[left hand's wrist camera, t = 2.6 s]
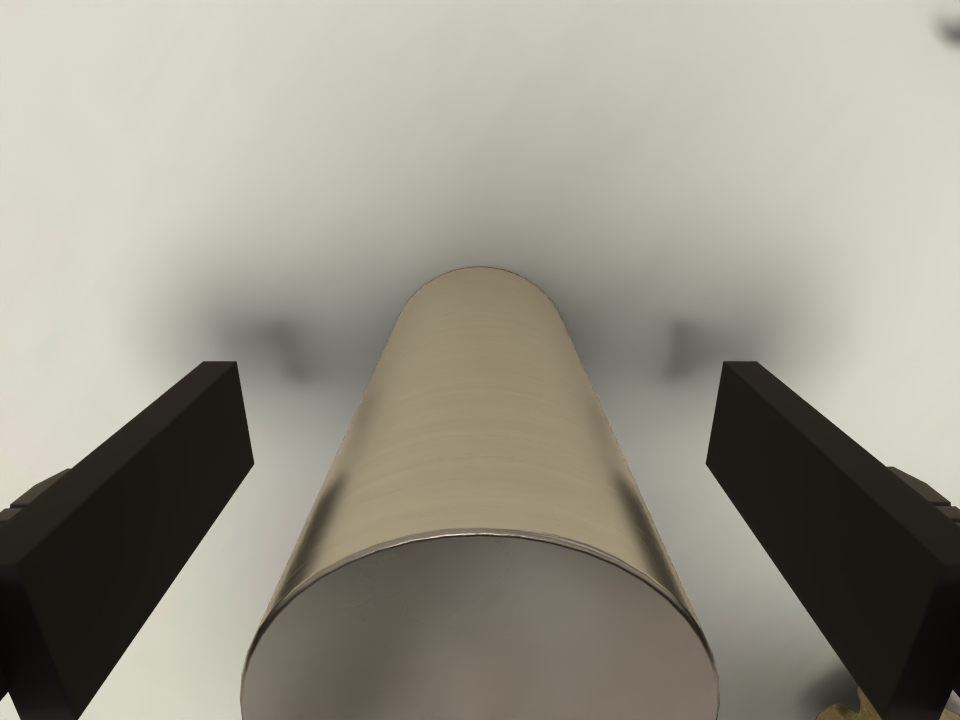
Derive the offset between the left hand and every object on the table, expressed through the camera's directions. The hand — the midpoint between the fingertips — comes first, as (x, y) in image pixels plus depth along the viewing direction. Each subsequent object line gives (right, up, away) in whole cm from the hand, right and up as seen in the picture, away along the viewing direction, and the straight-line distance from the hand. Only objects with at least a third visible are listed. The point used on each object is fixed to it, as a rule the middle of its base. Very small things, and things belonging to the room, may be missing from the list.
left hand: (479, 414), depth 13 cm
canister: (0, +1, +4) cm, 4 cm away
